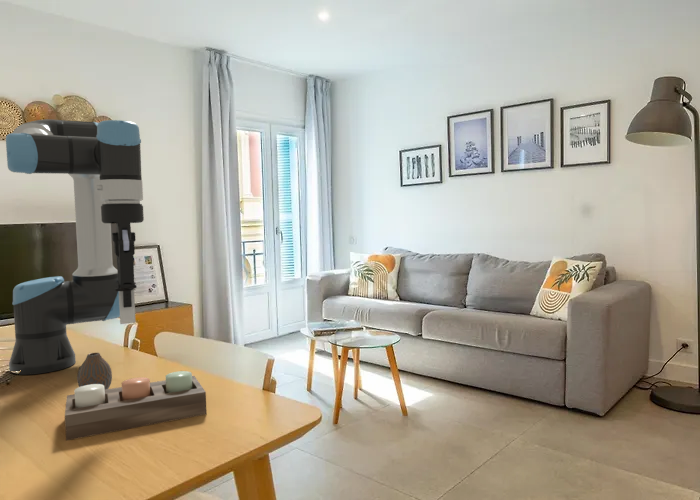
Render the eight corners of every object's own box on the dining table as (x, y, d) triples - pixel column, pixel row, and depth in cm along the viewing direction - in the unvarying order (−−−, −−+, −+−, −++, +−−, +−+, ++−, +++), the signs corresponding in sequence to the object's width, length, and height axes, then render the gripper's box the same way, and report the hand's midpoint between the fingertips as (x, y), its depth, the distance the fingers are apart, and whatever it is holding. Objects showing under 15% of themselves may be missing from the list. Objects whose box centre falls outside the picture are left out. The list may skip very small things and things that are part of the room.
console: (68, 417, 102) (66, 395, 101) (195, 396, 112) (194, 375, 112) (66, 440, 91) (64, 415, 91) (206, 414, 102) (205, 391, 101)
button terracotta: (121, 400, 103) (120, 379, 102) (149, 395, 105) (148, 375, 105) (123, 408, 98) (122, 387, 98) (151, 403, 100) (150, 382, 100)
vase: (99, 398, 112) (96, 358, 112) (71, 397, 114) (68, 357, 113) (119, 388, 119) (117, 350, 118) (92, 387, 120) (90, 349, 120)
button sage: (164, 392, 106) (163, 373, 106) (190, 388, 108) (189, 369, 108) (168, 400, 102) (167, 380, 101) (194, 395, 104) (193, 376, 104)
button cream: (75, 407, 99) (74, 386, 99) (105, 402, 101) (103, 382, 101) (75, 416, 94) (74, 394, 94) (105, 411, 97) (104, 389, 96)
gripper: (99, 203, 106) (105, 318, 107) (101, 202, 94) (108, 331, 96) (139, 202, 109) (144, 314, 111) (146, 202, 97) (151, 327, 99)
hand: (127, 322), depth 103 cm, fingers closed
